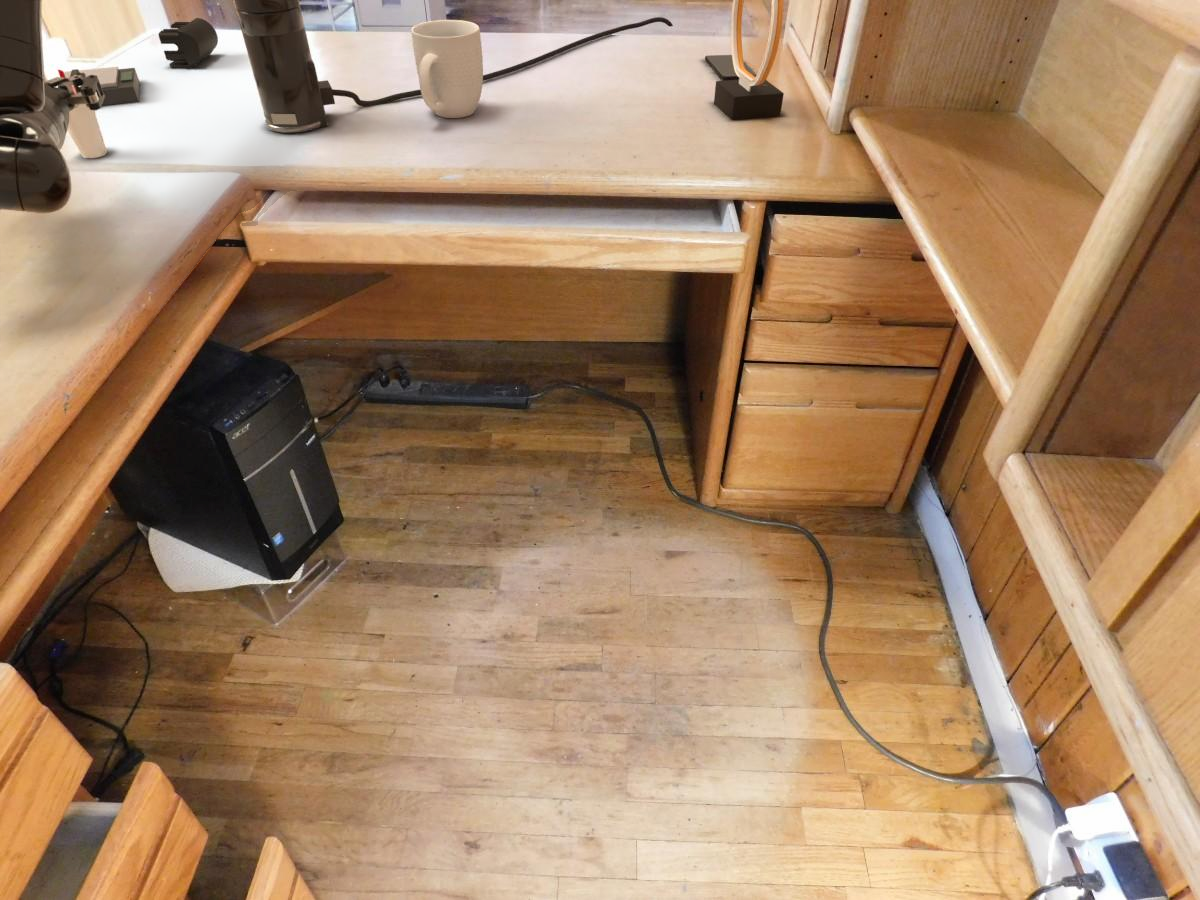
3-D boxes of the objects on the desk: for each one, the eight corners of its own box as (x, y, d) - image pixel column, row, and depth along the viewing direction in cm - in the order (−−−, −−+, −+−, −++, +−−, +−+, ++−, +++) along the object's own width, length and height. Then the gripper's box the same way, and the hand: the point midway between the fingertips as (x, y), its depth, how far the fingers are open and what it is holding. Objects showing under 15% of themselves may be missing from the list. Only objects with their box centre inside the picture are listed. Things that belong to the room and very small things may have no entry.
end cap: (205, 69, 150) (193, 30, 145) (168, 69, 150) (155, 30, 145) (223, 54, 157) (212, 17, 153) (188, 54, 157) (176, 17, 152)
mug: (460, 134, 124) (450, 46, 116) (399, 127, 127) (385, 39, 118) (497, 105, 135) (490, 22, 126) (440, 98, 137) (430, 17, 129)
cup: (112, 145, 120) (77, 62, 112) (116, 156, 116) (80, 71, 108) (73, 151, 118) (35, 67, 110) (76, 163, 114) (37, 77, 106)
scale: (139, 82, 143) (133, 63, 141) (138, 101, 135) (131, 82, 133) (67, 89, 140) (59, 70, 138) (61, 110, 132) (53, 90, 130)
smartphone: (737, 54, 157) (758, 75, 145) (736, 59, 157) (757, 80, 146) (704, 55, 156) (722, 76, 145) (703, 60, 156) (722, 81, 145)
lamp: (789, 124, 129) (828, -109, 108) (740, 128, 127) (770, -107, 106) (751, 93, 141) (779, -122, 120) (706, 96, 139) (726, -120, 118)
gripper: (82, 79, 87) (90, 43, 98) (-67, 93, 83) (-40, 54, 94) (109, 146, 92) (114, 105, 103) (-30, 162, 88) (-9, 118, 99)
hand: (41, 81), depth 99 cm, fingers open, 8 cm apart
